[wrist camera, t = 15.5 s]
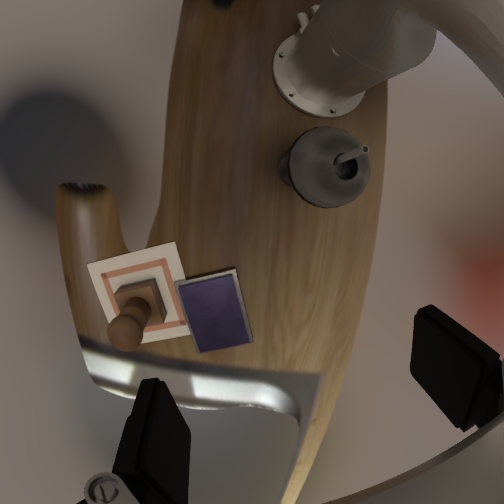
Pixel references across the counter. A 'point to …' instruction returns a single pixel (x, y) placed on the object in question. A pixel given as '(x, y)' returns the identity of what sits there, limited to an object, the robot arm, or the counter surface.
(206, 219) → the counter surface
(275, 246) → the counter surface
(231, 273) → the ink pad
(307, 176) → the beverage cup
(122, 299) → the stamp
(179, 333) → the print card
